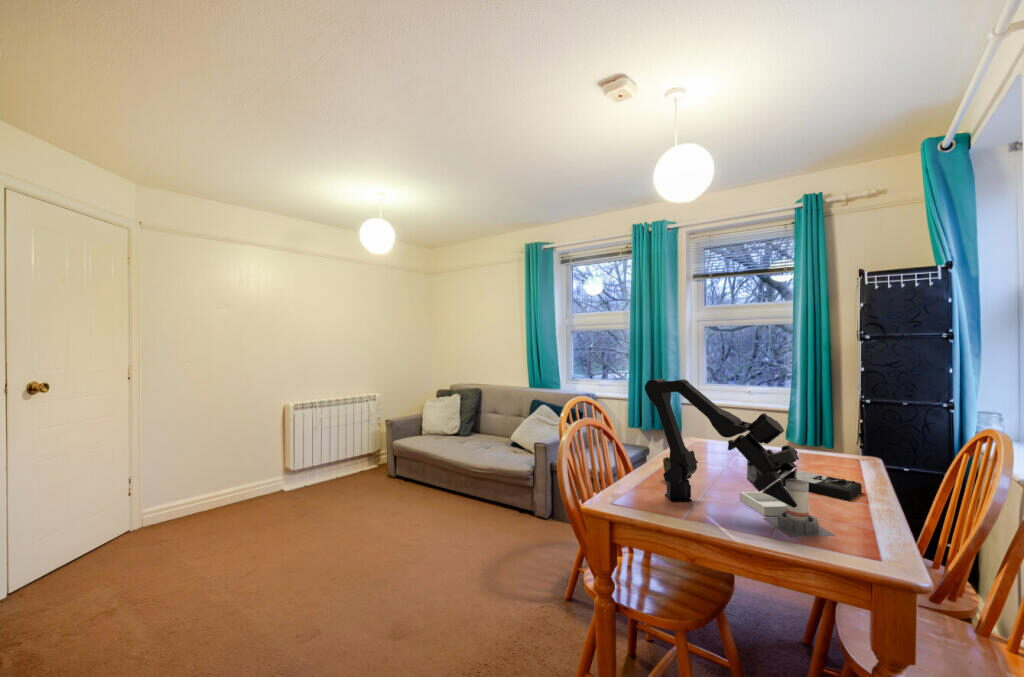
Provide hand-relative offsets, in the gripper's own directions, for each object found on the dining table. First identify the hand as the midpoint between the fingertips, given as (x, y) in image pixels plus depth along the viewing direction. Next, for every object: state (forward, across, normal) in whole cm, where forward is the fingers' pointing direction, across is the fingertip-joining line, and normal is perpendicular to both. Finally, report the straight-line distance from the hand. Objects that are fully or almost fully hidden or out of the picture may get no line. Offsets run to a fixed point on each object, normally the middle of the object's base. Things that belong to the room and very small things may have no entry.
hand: (800, 502), depth 118 cm
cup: (-26, +16, +36) cm, 47 cm away
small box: (-10, +36, +20) cm, 43 cm away
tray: (-2, +11, +13) cm, 17 cm away
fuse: (+4, 0, +5) cm, 7 cm away
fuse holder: (+5, 0, +6) cm, 8 cm away
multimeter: (+2, +44, +9) cm, 45 cm away
